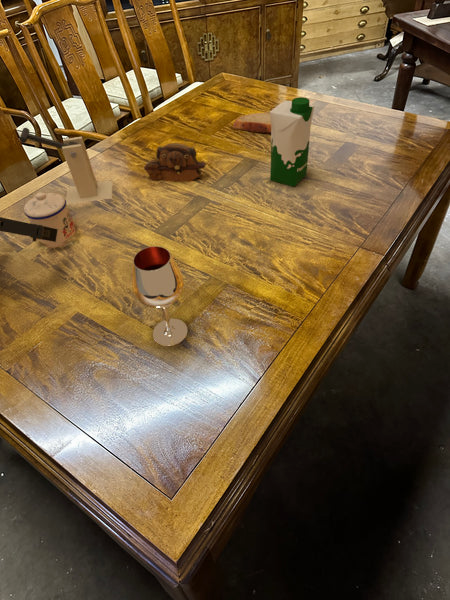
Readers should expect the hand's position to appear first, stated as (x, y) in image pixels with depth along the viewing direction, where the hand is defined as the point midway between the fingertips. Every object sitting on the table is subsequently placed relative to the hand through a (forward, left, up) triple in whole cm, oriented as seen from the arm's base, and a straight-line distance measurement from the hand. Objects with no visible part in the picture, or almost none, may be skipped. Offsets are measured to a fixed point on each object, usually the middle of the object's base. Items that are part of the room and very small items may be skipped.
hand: (29, 230), depth 90 cm
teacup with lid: (0, +8, -7) cm, 10 cm away
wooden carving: (+18, +36, -7) cm, 41 cm away
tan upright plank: (-2, +24, -7) cm, 25 cm away
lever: (-6, +21, +8) cm, 23 cm away
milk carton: (+46, +45, -7) cm, 65 cm away
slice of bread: (+33, +72, -7) cm, 79 cm away
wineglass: (+38, -12, -7) cm, 41 cm away
